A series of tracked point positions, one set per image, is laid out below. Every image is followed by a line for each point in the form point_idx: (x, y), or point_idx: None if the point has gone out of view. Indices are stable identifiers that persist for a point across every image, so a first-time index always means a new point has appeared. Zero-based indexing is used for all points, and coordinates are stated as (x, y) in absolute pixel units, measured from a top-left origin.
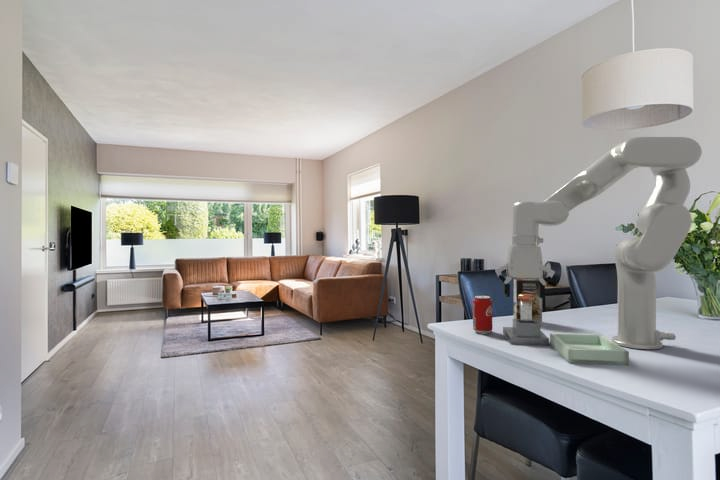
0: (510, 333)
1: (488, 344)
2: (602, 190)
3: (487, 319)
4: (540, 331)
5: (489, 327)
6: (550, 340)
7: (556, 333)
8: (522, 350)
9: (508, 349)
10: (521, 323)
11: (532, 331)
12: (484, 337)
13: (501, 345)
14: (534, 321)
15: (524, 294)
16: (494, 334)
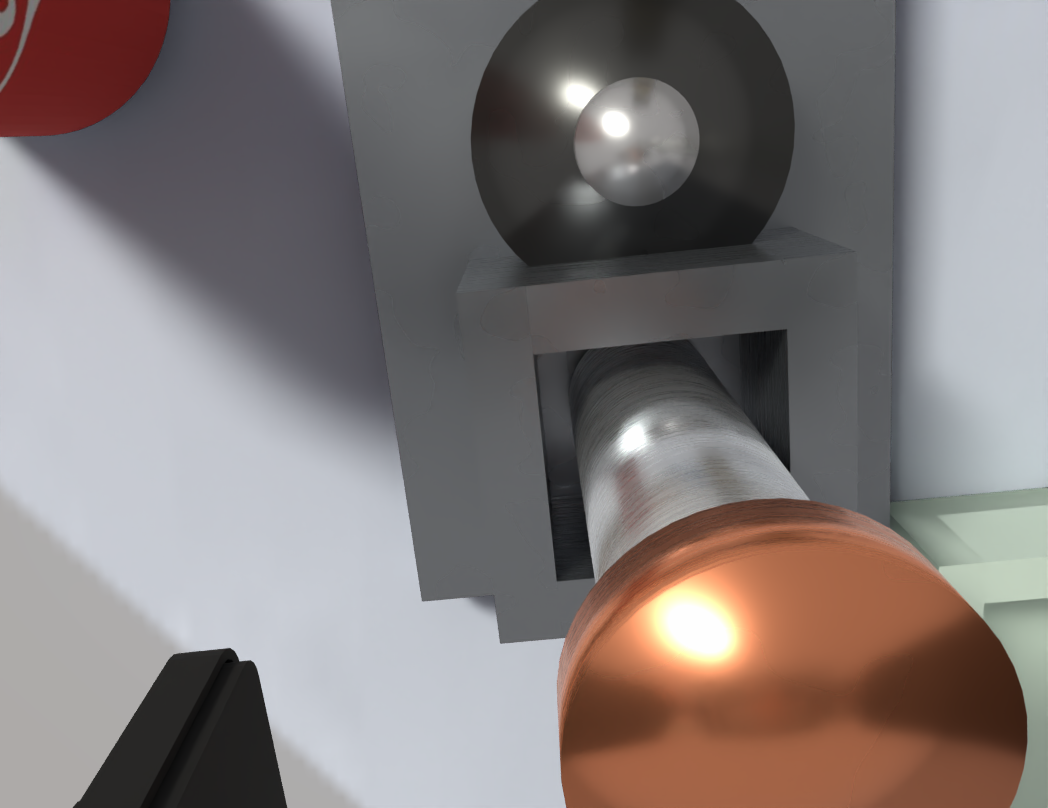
0: (433, 401)
1: (197, 637)
2: None
3: (14, 113)
4: (878, 167)
5: (113, 90)
6: (900, 535)
7: (1016, 573)
8: (543, 777)
9: (409, 773)
10: None
11: None
12: (113, 321)
13: (337, 646)
14: (805, 440)
15: (763, 677)
16: (227, 104)
